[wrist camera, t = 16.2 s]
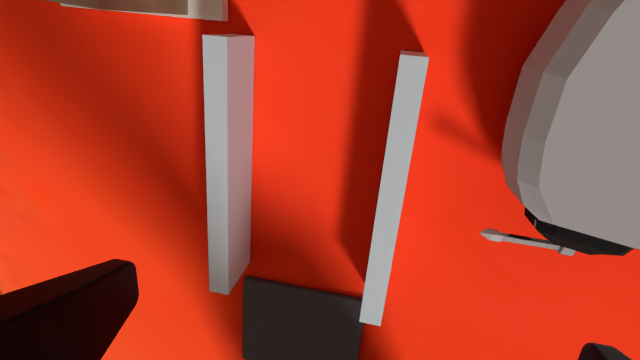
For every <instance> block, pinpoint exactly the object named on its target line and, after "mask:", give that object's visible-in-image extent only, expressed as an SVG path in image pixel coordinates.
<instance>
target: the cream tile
mask: <svg viewBox="0 0 640 360" xmlns="http://www.w3.org/2000/svg"><path fill="white" fill-rule="evenodd" d="M60 4H61V6H67V7H77V8H87V7H82V6H76V5H70V4H64V3H60ZM88 9H93V8H88ZM99 10H100V9H99ZM109 11H116V10H109ZM120 12H131V11H120ZM131 13H141V14H152V15H162V16H173V17H184V18H194V19H205V20H216V21H228V0H188V15H177V14H162V13H147V12H131Z"/></svg>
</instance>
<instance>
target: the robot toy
mask: <svg viewBox="0 0 640 360" xmlns="http://www.w3.org/2000/svg"><path fill="white" fill-rule="evenodd" d="M501 162H502V167H503V171H504V175H505V180H506V184H507V186H508V187H509V188H510V190H511V191H512V192H513V193H514V194H515V196H516V197H517V198H518V199H519V200H520V202H521V203H522V204H523V205H524V206H525V216H526V217H527V218H528V220H529V221H530V222H531V223H532V225H533V226H534V227H535V228H536V230H537V231H538V232H540V233H541V234H542V235H543V236H544V237H545V238H547V239H548V240H549V241H548V240H542V239H536V238H530V237H524V236H519V235H513V234H507V233H501V232H499V231H498V230H493V229H485V230H483V231H482V232H480V234H482V235H483V236H484V237H486V238H487V239H488V240H491V241H497V242H501V241H507V242H513V243H519V244H525V245H531V246H537V247H543V248H549V249H555V250H556V251H557V252H559V253H560V254H564V255H570V256H573V255H574V253H575V252H576V251H579V252H582V253H585V254H589V255H596V254H605V255H620V256H624V255H625V254H627V253H628V252H630V251H631V250H633V249H634V248H635V249H640V0H566V1H565V2H564V3H563V5H562V6H561V7H560V8H559V10H558V11H557V13H556V15H555V16H554V18H553V19H552V21H551V22H550V24H549V26H548V27H547V29H546V30H545V32H544V33H543V35H542V36H541V38H540V40H539V41H538V43H537V44H536V46H535V47H534V49H533V51H532V52H531V54H530V55H529V57H528V58H527V60H526V61H525V63H524V65H523V66H522V70H521V73H520V76H519V80H518V83H517V87H516V90H515V93H514V97H513V100H512V103H511V107H510V110H509V114H508V117H507V120H506V125H505V131H504V138H503V144H502V159H501Z"/></svg>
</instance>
